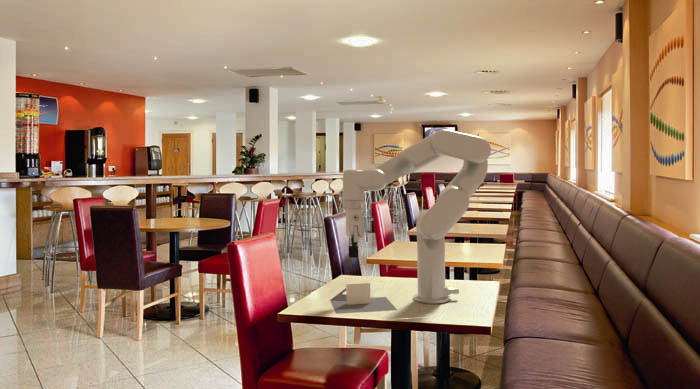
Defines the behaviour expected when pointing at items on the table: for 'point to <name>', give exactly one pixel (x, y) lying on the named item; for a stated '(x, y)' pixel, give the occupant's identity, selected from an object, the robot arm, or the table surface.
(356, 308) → the mat
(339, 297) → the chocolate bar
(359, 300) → the tile
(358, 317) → the table surface
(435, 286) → the robot arm
